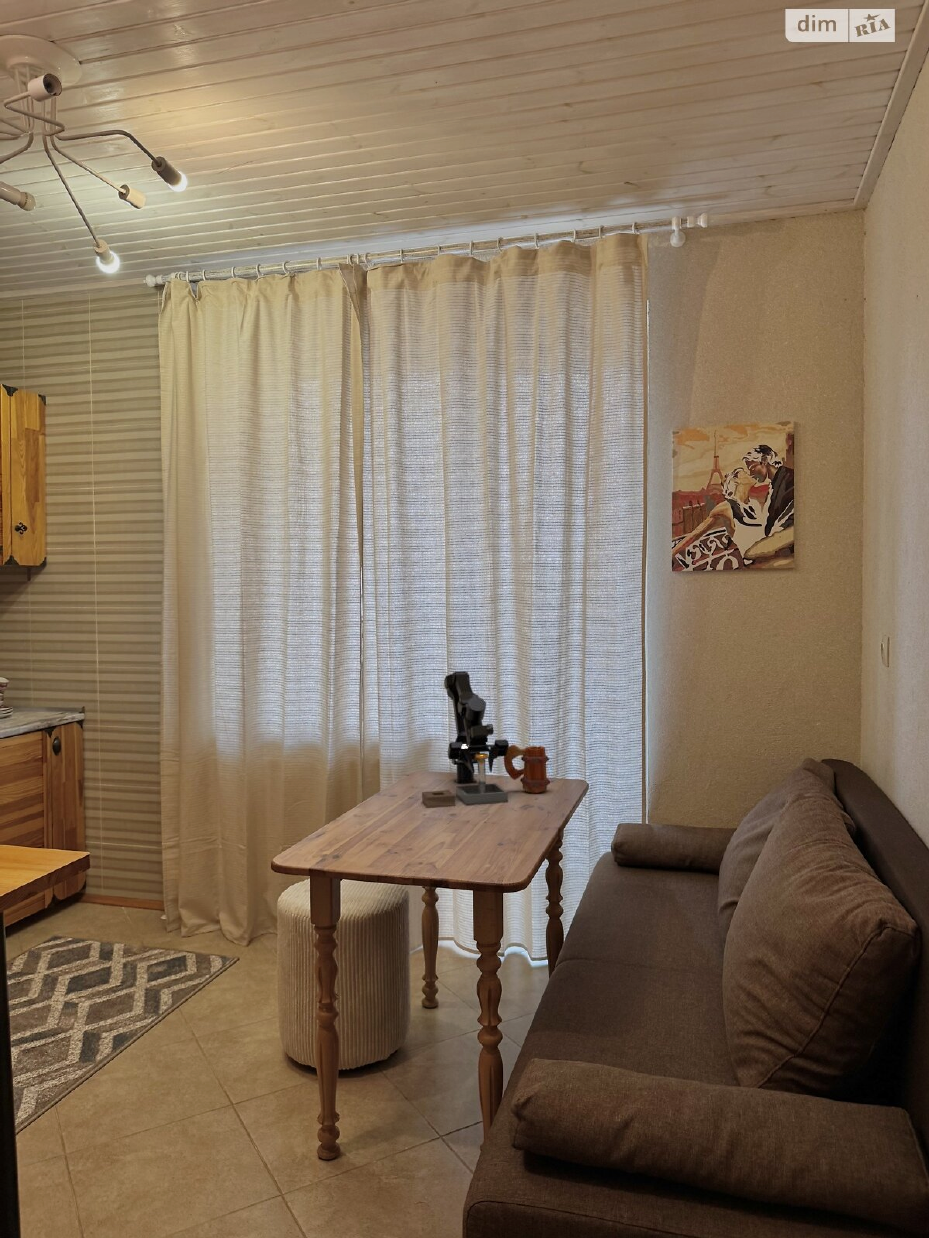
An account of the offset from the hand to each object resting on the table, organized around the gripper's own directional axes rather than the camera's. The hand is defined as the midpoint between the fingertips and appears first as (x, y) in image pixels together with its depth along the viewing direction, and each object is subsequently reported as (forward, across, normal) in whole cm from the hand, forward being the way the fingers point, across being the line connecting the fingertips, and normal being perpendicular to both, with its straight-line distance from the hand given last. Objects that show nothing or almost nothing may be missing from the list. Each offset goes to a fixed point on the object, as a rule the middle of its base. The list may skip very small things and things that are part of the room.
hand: (482, 771), depth 279 cm
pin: (+5, 0, +7) cm, 8 cm away
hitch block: (+6, -14, +6) cm, 16 cm away
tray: (+5, 0, +8) cm, 9 cm away
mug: (+1, +16, +12) cm, 20 cm away
